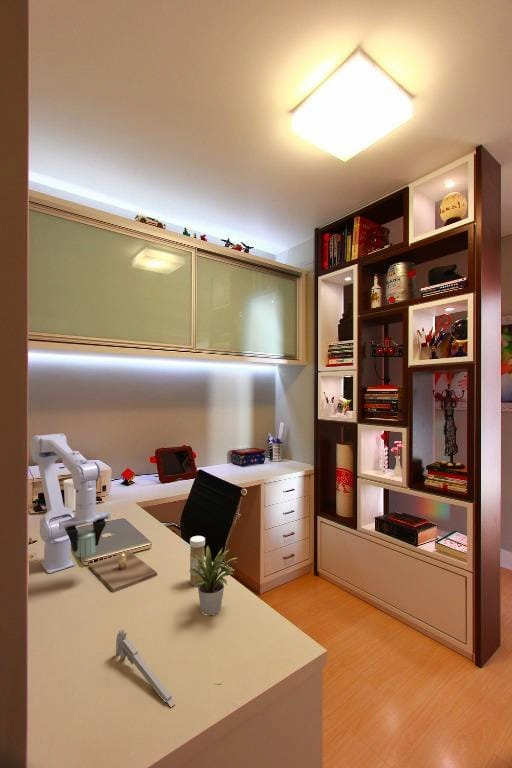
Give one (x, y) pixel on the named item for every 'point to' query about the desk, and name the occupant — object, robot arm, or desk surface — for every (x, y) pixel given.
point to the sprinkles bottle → (197, 549)
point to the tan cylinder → (122, 561)
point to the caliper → (140, 665)
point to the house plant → (211, 581)
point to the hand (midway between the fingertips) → (85, 547)
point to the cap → (86, 543)
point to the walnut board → (122, 572)
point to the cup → (69, 494)
